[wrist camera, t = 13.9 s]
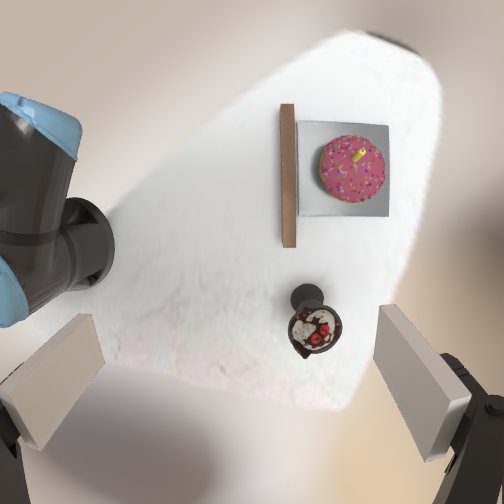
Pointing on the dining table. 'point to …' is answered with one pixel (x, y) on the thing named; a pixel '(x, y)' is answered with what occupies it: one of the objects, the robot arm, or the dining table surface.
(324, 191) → the board
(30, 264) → the robot arm
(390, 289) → the dining table surface
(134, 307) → the dining table surface
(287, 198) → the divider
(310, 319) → the sundae
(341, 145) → the cupcake
